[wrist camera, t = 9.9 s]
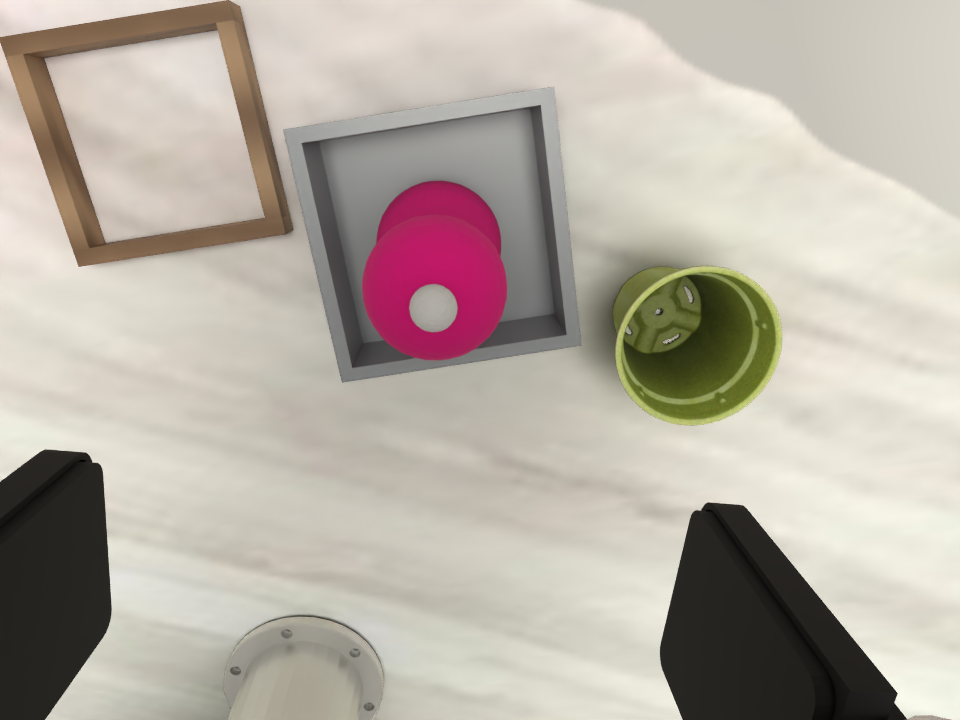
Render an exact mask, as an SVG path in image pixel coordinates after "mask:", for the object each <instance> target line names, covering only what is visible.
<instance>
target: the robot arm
mask: <svg viewBox="0 0 960 720" xmlns="http://www.w3.org/2000/svg"><path fill="white" fill-rule="evenodd" d="M110 619H111V592H110V576H109V561H108V545H107V529H106V513H105V498H104V482H103V471H102V468H101V465H100V464H98V463H92V460H91V458H90V456H89V455H88V454H87V453H83V452H71V451H58V450H43V451H41V452H39V453H38V454H37V455H35V456H34V457H33V458H31V459H30V460H29V461H27V462H26V463H25V464H23V465H22V466H21V467H19V468H18V469H17V470H15V471H14V472H13V473H11V474H10V475H9V476H7V477H6V478H5V479H3V480H2V481H1V482H0V720H45V719H46V718H47V716H48V715H49V713H50V712H51V710H52V709H53V708H54V706H55V705H56V703H57V702H58V700H59V699H60V698H61V696H62V695H63V693H64V692H65V691H66V689H67V688H68V686H69V685H70V683H71V682H72V681H73V679H74V678H75V676H76V675H77V674H78V672H79V671H80V669H81V668H82V666H83V665H84V664H85V662H86V661H87V659H88V658H89V657H90V655H91V654H92V652H93V651H94V649H95V648H96V647H97V645H98V644H99V642H100V641H101V639H102V638H103V637H104V635H105V633H106V631H107V629H108V626H109V623H110ZM660 660H661V666H662V669H663V672H664V675H665V677H666V679H667V682H668V684H669V687H670V689H671V692H672V694H673V697H674V699H675V702H676V704H677V707H678V709H679V711H680V714H681V716H682V719H683V720H950V719H945V718H941V717H936V716H932V715H931V716H914V717H911V718H909V719H907V718H906V717H905V716H904V715H903V713H902V712H901V711H900V710H899V708H898V707H897V706H896V705H895V703H894V702H895V699H896V696H897V694H898V693H897V692H896V691H895V690H894V688H893V687H892V686H891V685H890V683H889V682H888V681H887V680H886V679H885V677H884V676H883V675H882V674H881V672H880V671H879V670H878V669H877V667H876V666H875V665H874V664H873V663H872V661H871V660H870V659H869V658H868V656H867V655H866V654H865V653H864V652H863V650H862V649H861V648H860V647H859V645H858V644H857V643H856V642H855V641H854V639H853V638H852V637H851V636H850V634H849V633H848V632H847V631H846V630H845V628H844V627H843V626H842V625H841V623H840V622H839V621H838V620H837V619H836V617H835V616H834V615H833V614H832V612H831V611H830V610H829V609H828V608H827V606H826V605H825V604H824V603H823V601H822V600H821V599H820V598H819V597H818V595H817V594H816V593H815V592H814V590H813V589H812V588H811V587H810V586H809V584H808V583H807V582H806V581H805V579H804V578H803V577H802V576H801V574H800V573H799V572H798V571H797V570H796V568H795V567H794V566H793V565H792V563H791V562H790V561H789V560H788V559H787V557H786V556H785V555H784V554H783V552H782V551H781V550H780V549H779V548H778V546H777V545H776V544H775V543H774V541H773V540H772V539H771V538H770V537H769V535H768V534H767V533H766V532H765V530H764V529H763V528H762V527H761V526H760V524H759V523H758V522H757V521H756V519H755V518H754V517H753V516H752V515H751V513H750V512H749V511H748V510H747V508H745V507H744V506H743V505H733V504H720V503H706V504H705V505H704V506H703V508H702V510H701V511H698V510H696V511H694V512H693V513H692V515H691V518H690V522H689V526H688V530H687V534H686V539H685V543H684V547H683V551H682V556H681V560H680V564H679V568H678V573H677V577H676V581H675V586H674V590H673V594H672V598H671V603H670V607H669V611H668V615H667V620H666V624H665V628H664V632H663V637H662V641H661V646H660ZM223 683H224V693H225V696H226V699H227V702H228V705H229V707H230V708H231V712H230V714H229V717H228V719H227V720H372V718H373V717H374V715H375V714H376V712H377V710H378V708H379V705H380V702H381V699H382V692H383V672H382V668H381V664H380V662H379V660H378V658H377V656H376V654H375V652H374V651H373V649H372V648H371V647H370V646H369V644H368V643H367V642H366V641H365V640H364V639H362V638H361V637H360V636H359V635H358V634H356V633H355V632H353V631H352V630H350V629H348V628H346V627H345V626H343V625H340V624H337V623H335V622H332V621H329V620H325V619H320V618H315V617H290V618H282V619H279V620H275V621H271V622H268V623H266V624H264V625H262V626H260V627H258V628H256V629H254V630H253V631H252V632H250V633H249V634H248V635H246V636H245V637H244V638H243V639H242V640H241V641H240V642H239V644H238V645H237V646H236V647H235V649H234V651H233V653H232V655H231V656H230V659H229V661H228V664H227V666H226V669H225V674H224V681H223Z"/></svg>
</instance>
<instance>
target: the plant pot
mask: <svg viewBox="0 0 960 720" xmlns="http://www.w3.org/2000/svg"><path fill="white" fill-rule="evenodd" d="M684 286H686V287H688V288H689V290H690V291H691V292H692V294H693V298H694V301H693V303H689V299H688V296H687V294H686V292H685V289H684V288H683V287H684ZM659 308H660V309H662V310H663V313H662V314H661V315H656V314H655V311H656V310H657V309H659ZM613 320H614V325H615V329H616V332H617V337H616V344H615V362H616V368H617V372H618V375H619V378H620V381H621V383H622V385H623V387H624V389H625V390H626V392H627V393H628V395H629V396H630V397H631V399H632V400H633V401H634V402H635V403H636V404H637V405H638V406H639V407H640V408H642V409H643V410H644V411H645V412H647V413H648V414H650V415H652V416H654V417H656V418H658V419H660V420H663V421H666V422H669V423H672V424H678V425H689V426H693V425H703V424H708V423H713V422H716V421H720V420H723V419H725V418H727V417H729V416H731V415H733V414H735V413H737V412H739V411H740V410H742V409H743V408H744V407H746V406H747V405H748V404H749V403H751V402H752V401H753V400H754V399H755V398H756V397H757V396H758V395H759V394H760V392H761V391H762V390H763V389H764V388H765V386H766V385H767V383H768V382H769V380H770V379H771V377H772V375H773V373H774V371H775V369H776V366H777V364H778V361H779V357H780V353H781V348H782V327H781V321H780V317H779V314H778V311H777V309H776V307H775V305H774V303H773V301H772V300H771V298H770V297H769V295H768V294H767V293H766V291H765V290H764V289H763V288H762V287H761V286H760V285H758V284H757V283H756V282H755V281H753V280H752V279H751V278H749V277H747V276H745V275H744V274H742V273H739V272H737V271H734V270H731V269H727V268H723V267H717V266H696V267H690V268H685V269H676V268H671V267H654V268H649V269H646V270H643V271H641V272H639V273H637V274H636V275H634V276H633V277H632V278H630V279H629V280H628V281H627V282H626V283H625V284H624V285H623V287H622V288H621V290H620V292H619V294H618V296H617V298H616V301H615V304H614V308H613ZM627 325H628V326H629V328H630V330H631V331H632V335H628V334H627V333H626V332H625V330H626V327H627ZM679 333H680V337H679V338H678V339H677V340H675V341H673V342H672V343H670V344H663V343H662V342H663V341H664V340H667V339H670V338H672V337H674V336H676V335H677V334H679Z"/></svg>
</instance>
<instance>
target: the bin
mask: <svg viewBox="0 0 960 720" xmlns="http://www.w3.org/2000/svg"><path fill="white" fill-rule="evenodd" d="M283 131H284V135H285V140H286V144H287V148H288V153H289V157H290V161H291V165H292V170H293V174H294V178H295V183H296V187H297V191H298V196H299V200H300V204H301V208H302V213H303V217H304V221H305V226H306V230H307V234H308V238H309V243H310V247H311V251H312V256H313V260H314V264H315V269H316V273H317V277H318V281H319V286H320V290H321V294H322V299H323V303H324V307H325V311H326V316H327V320H328V324H329V329H330V333H331V337H332V342H333V346H334V350H335V354H336V359H337V363H338V367H339V372H340V376H341V380H342V382H349V381H355V380H362V379H368V378H375V377H381V376H388V375H394V374H401V373H407V372H413V371H420V370H426V369H433V368H439V367H446V366H452V365H459V364H465V363H472V362H478V361H485V360H491V359H498V358H504V357H511V356H517V355H524V354H530V353H536V352H543V351H549V350H556V349H562V348H569V347H575V346H581V338H580V328H579V319H578V309H577V300H576V290H575V281H574V271H573V262H572V252H571V243H570V234H569V224H568V215H567V205H566V196H565V186H564V177H563V167H562V158H561V148H560V139H559V129H558V120H557V111H556V101H555V92H554V87H548V88H542V89H536V90H529V91H523V92H517V93H511V94H504V95H498V96H492V97H485V98H479V99H473V100H467V101H460V102H454V103H448V104H442V105H435V106H429V107H423V108H416V109H410V110H404V111H398V112H391V113H385V114H379V115H373V116H366V117H360V118H354V119H347V120H341V121H335V122H329V123H322V124H316V125H310V126H304V127H297V128H291V129H285V130H283ZM428 181H449V182H454V183H457V184H460V185H463V186H465V187H467V188H469V189H471V190H472V191H473V192H475V193H476V194H478V195H479V196H480V197H481V198H482V199H483V200H484V201H485V202H486V203H487V204H488V206H489V207H490V208H491V210H492V212H493V214H494V215H495V217H496V219H497V222H498V225H499V228H500V234H501V256H500V258H501V260H502V262H503V264H504V268H505V272H506V278H507V300H506V304H505V308H504V311H503V315H502V317H501V319H500V321H499V323H498V325H497V327H496V328H495V330H494V331H493V333H492V334H491V335H490V337H488V338H487V339H486V340H485V341H484V342H483V343H482V344H480V345H479V346H478V347H477V348H476V349H474V350H472V351H471V352H469V353H467V354H465V355H462V356H460V357H456V358H452V359H447V360H423V359H418V358H414V357H411V356H409V355H406V354H404V353H401V352H400V351H398V350H397V349H395V348H393V347H392V346H390V345H389V344H388V343H387V342H386V341H385V340H384V339H383V338H382V337H381V336H380V335H379V333H378V332H377V330H376V329H375V328H374V326H373V325H372V323H371V321H370V319H369V317H368V315H367V312H366V309H365V306H364V302H363V293H362V279H363V273H364V269H365V265H366V262H367V259H368V257H369V255H370V253H371V251H372V249H373V248H374V246H375V245H376V239H377V232H378V227H379V224H380V221H381V218H382V215H383V214H384V212H385V210H386V209H387V207H388V206H389V204H390V203H391V202H392V201H393V200H394V199H395V198H396V197H397V196H398V195H399V194H400V193H402V192H403V191H405V190H406V189H408V188H410V187H411V186H414V185H417V184H419V183H423V182H428Z"/></svg>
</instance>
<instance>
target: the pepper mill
mask: <svg viewBox="0 0 960 720" xmlns="http://www.w3.org/2000/svg"><path fill="white" fill-rule="evenodd" d="M500 256H501V234H500V228H499V225H498V222H497V219H496V217H495V215H494V214H493V212H492V210H491V208H490V207H489V206H488V204H487V203H486V202H485V201H484V200H483V199H482V198H481V197H480V196H479V195H478V194H476V193H475V192H473V191H472V190H471V189H469V188H467V187H465V186H463V185H460V184H457V183H454V182H449V181H428V182H423V183H419V184H417V185H414V186H411V187H410V188H408V189H406V190H405V191H403V192H402V193H400V194H399V195H398V196H397V197H396V198H395V199H394V200H393V201H392V202H391V203H390V204H389V206H388V207H387V209H386V210H385V212H384V214H383V215H382V218H381V221H380V224H379V227H378V232H377V239H376V245H375V246H374V248H373V249H372V251H371V253H370V255H369V257H368V259H367V262H366V265H365V269H364V273H363V279H362V293H363V302H364V306H365V309H366V312H367V315H368V317H369V319H370V321H371V323H372V325H373V326H374V328H375V329H376V330H377V332H378V333H379V335H380V336H381V337H382V338H383V339H384V340H385V341H386V342H387V343H388V344H389V345H390V346H392V347H393V348H395V349H397V350H398V351H400V352H401V353H404V354H406V355H409V356H411V357H414V358H418V359H423V360H447V359H452V358H456V357H460V356H462V355H465V354H467V353H469V352H471V351H472V350H474V349H476V348H477V347H478V346H479V345H480V344H482V343H483V342H484V341H485V340H486V339H487V338H488V337H490V335H491V334H492V333H493V331H494V330H495V328H496V327H497V325H498V323H499V321H500V319H501V317H502V315H503V311H504V308H505V304H506V300H507V278H506V272H505V268H504V264H503V262H502V260H501V258H500Z"/></svg>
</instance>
